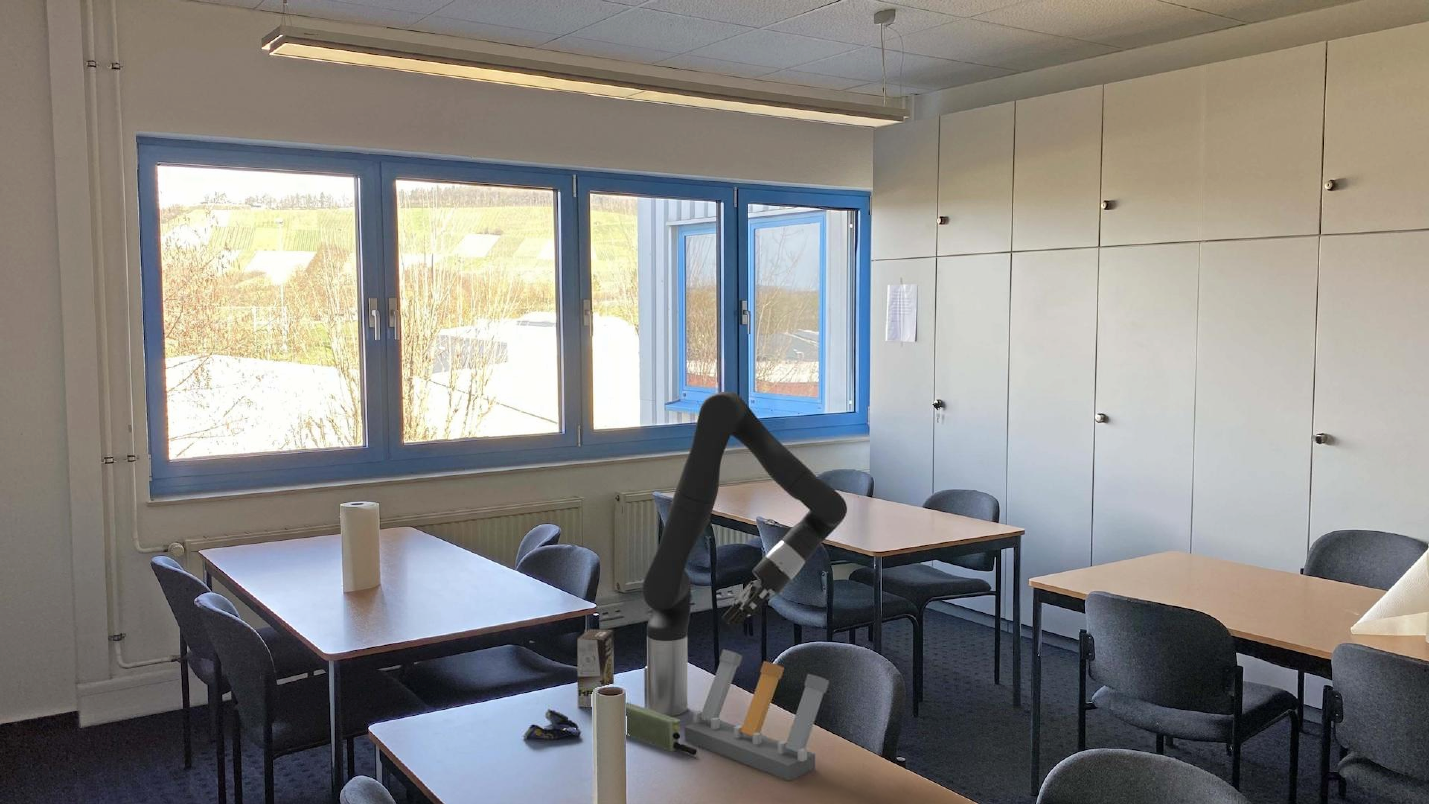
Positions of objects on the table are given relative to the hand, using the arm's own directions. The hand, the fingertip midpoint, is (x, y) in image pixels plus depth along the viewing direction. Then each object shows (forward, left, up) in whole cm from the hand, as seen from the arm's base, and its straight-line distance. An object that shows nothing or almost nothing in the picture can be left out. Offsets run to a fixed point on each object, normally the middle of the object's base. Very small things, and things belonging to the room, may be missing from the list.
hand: (728, 624), depth 223 cm
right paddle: (+21, -3, -22) cm, 30 cm away
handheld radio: (-10, -13, -25) cm, 30 cm away
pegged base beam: (+9, -3, -25) cm, 26 cm away
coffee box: (-38, -5, -25) cm, 46 cm away
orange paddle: (+9, -3, -22) cm, 24 cm away
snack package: (-27, -25, -25) cm, 45 cm away
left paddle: (-3, -3, -22) cm, 22 cm away
